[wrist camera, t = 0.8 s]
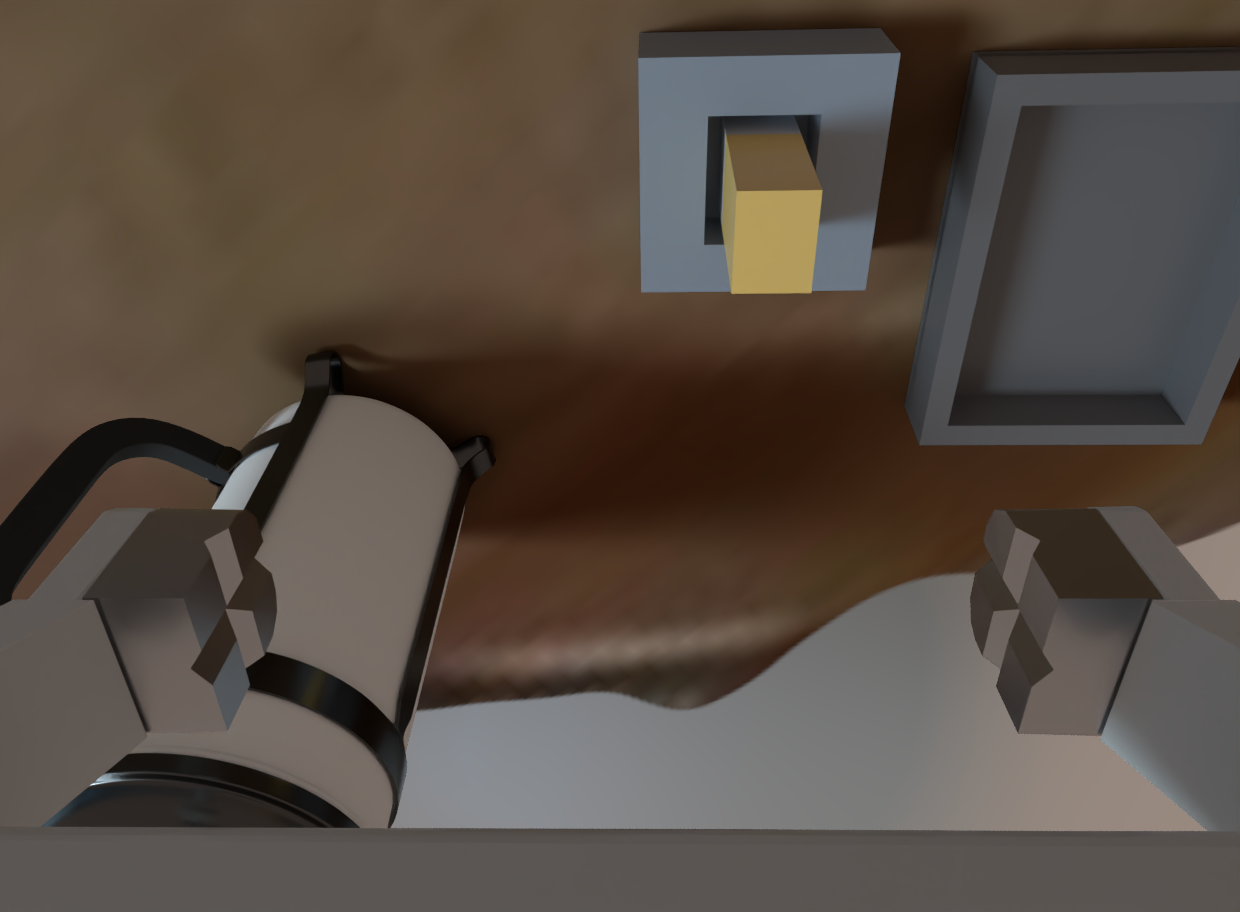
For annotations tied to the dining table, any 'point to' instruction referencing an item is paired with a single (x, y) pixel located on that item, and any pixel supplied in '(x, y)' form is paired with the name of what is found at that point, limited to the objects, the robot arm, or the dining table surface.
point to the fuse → (768, 204)
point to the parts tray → (1085, 252)
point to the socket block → (748, 86)
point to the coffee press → (291, 608)
